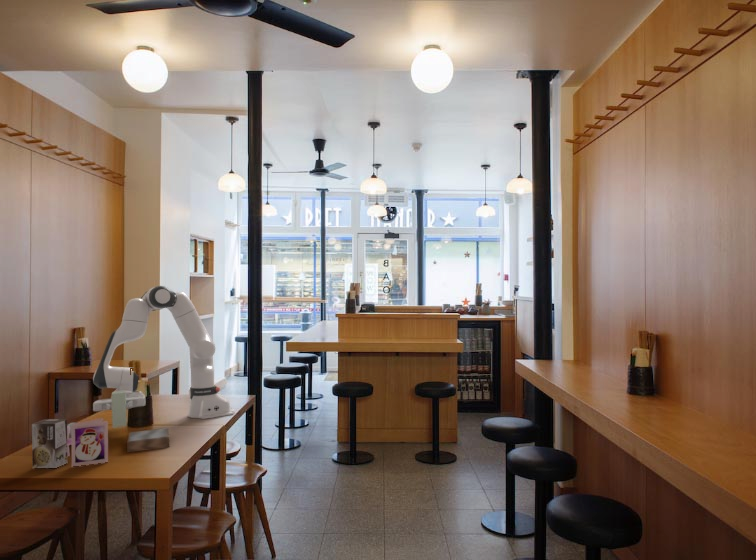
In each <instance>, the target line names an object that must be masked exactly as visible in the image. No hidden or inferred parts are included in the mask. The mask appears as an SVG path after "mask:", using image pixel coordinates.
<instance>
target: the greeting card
mask: <svg viewBox="0 0 756 560" xmlns="http://www.w3.org/2000/svg"><path fill="white" fill-rule="evenodd" d="M76 423H77V424H73V425H72V444H71V468H74V467H73V466H79V467H82V466H81V465H86V466H90V465H89V464H94V465H99V464H98V463H101V464H106V463H105V462H108V463H109V421H108V420H104V417H100V418H95V419H91V420H87V421H83V422H76Z"/></svg>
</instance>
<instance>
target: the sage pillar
mask: <svg viewBox="0 0 756 560" xmlns="http://www.w3.org/2000/svg"><path fill="white" fill-rule="evenodd" d="M111 396H112V410H111V419H112V422H111V423H112V429H115V428H123V427H127V424H128V423H127V409H126V391H117V392H114V391H112V392H111Z"/></svg>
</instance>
